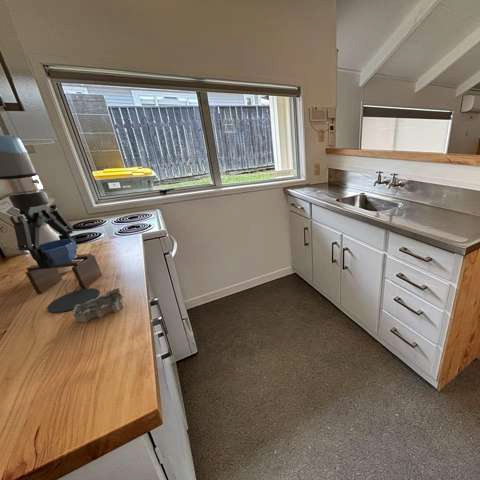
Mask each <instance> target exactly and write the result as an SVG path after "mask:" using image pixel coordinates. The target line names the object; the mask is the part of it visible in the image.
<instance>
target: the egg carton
mask: <svg viewBox="0 0 480 480" xmlns="http://www.w3.org/2000/svg"><path fill="white" fill-rule="evenodd" d="M123 302H124V298H123V296H122V294H121V291H120V288H112V290H108V291H107V292H105V294H101V295H100V296H97V297H96V298H95V299H92V300H90V301H87V302H86V303H83V304H82V305H81V304H78V305H75V307H74V309H73V310H71V311H72V313H71V315H73V317H74V318H75V320H76V322H77V323H82V324H84V323H87V322H89V321H90V320H91V319H94V318H102V317H105V315H106V314H108V313H112V312H113V313H117V312H119V311H120V310H122V309H123V308H124V304H123Z"/></svg>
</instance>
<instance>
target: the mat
mask: <svg viewBox="0 0 480 480" xmlns="http://www.w3.org/2000/svg"><path fill="white" fill-rule="evenodd" d="M99 295H100V289H98V288H95V287H94V288H93V287H92V288H91V287H87V288H86V289H77V290H75V291H71V292H68V293H66V294H64V295H61V296H60V297H57V298H56V299H55V300H53V301H51V302H50V303H49V304H48V306H47V308H46V309H47V312H49V313H51V314H52V313H53V314H58V313H67V312H70V311H73V309H74V307H75V305H78V304H81V305H82V304H83V303H86V302H87V301H90V300H92V299H96V298H98V297H99Z"/></svg>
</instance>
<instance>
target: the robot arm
mask: <svg viewBox="0 0 480 480" xmlns="http://www.w3.org/2000/svg"><path fill="white" fill-rule="evenodd" d="M0 184H1V186H2V188H3V189H4V190H3V191H4V192H5V193H6V194H9V195H8V199H9V201H10V202H11V204H12V206H13V208H14V209H17V210H19V214H18V215H12V216H9V219H10V221H11V223H12V224H13V228H14V232H15V238H16V242H17V247H18V250H19V251H21V252H22V251H28V252H29V254H30V256H31V257H32V259H33V260H34V261H35V262H36V265H38V266H39V268H40V269H43V268H51V267H52V266H51V264H50V262H49V260H48V258H47V256H46V254H45V252H44V250H43V248H39V228H40V227H41V223H43V222H46V223H47V224H48V225H49V227H50V228H51V229H52V230H53V229H54V230H53V231H55V232H56V233H57V234H58V235H59V239H60V240H62V239H73V238H72V236H71V235H72V234H73V233H74V226H73V225H71V223H70V222H69V221H68V219H67V218H66V216H65V215H64V214H63V212H62V211H61V209H60V208H59V205H58V204H55V203H54V204H49V203H50V198H49V197H48V195H47V192H46V191H45V190H44V187H43V184H42V182H41V180H40V177H39V176H38V174H37V172H36V170H35V167H34V165H33V163H32V161H31V157H30V156H29V153H28V150H27V149H26V148H25V146H24V144H23V142H22V140H21V139H20V137H18V136H16V135H12V134H10V135H7V134H5V135H0ZM30 223H32V224H30ZM75 251H76V253H77V252H78V251H77V249H75Z"/></svg>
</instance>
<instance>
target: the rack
mask: <svg viewBox="0 0 480 480" xmlns="http://www.w3.org/2000/svg"><path fill="white" fill-rule="evenodd" d="M71 266H73V267H72V270H71V271H72V273H73V274H74V277H75V278H76V281H77V283H78V285H79V287H80V290H82V289H88V288H89V286H91V285H92V284H93V283H94V282H95V281H97V280H98V279H99V278H101V277H102V276H103V273H102V271H101V269H100V266H99V264H98V262H97V259H96V256H95V255H94V254H91V253H84V254H77V257H76V258H75V259H74V260H73V261H70V262H67V263H64V264H61V265H56V266H52V267H51V268H43V269H40V268H39V266H38V264H32V265H30V266H28V267H26V270H27V271H25V275H26V277H27V278H28V280H29V282H30V284H31V286H32V287H33V289H34V291H35V292H36V294H37V295H41V294H43V293H45V292H46V291H48V290H49V289H50V288H52V287H54V286H55V285H56V284H58V283H60V281H62V280H63V277H62V276H61V275H62V274H60V273H59V271H58V269H57V268H61V267H71Z"/></svg>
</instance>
